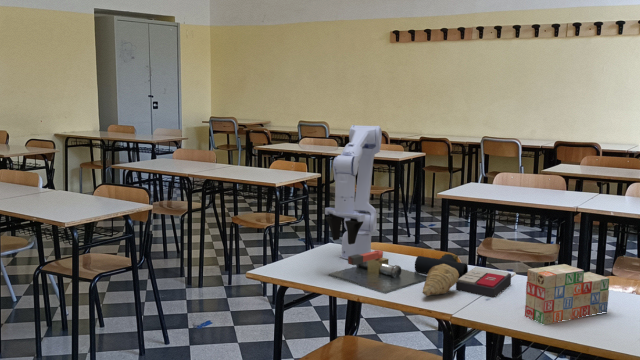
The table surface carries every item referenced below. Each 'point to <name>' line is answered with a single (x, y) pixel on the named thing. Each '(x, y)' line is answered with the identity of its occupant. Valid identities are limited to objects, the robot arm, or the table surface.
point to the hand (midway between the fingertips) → (343, 241)
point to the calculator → (484, 282)
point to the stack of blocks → (564, 293)
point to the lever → (364, 257)
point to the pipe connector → (452, 260)
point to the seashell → (440, 279)
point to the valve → (379, 276)
